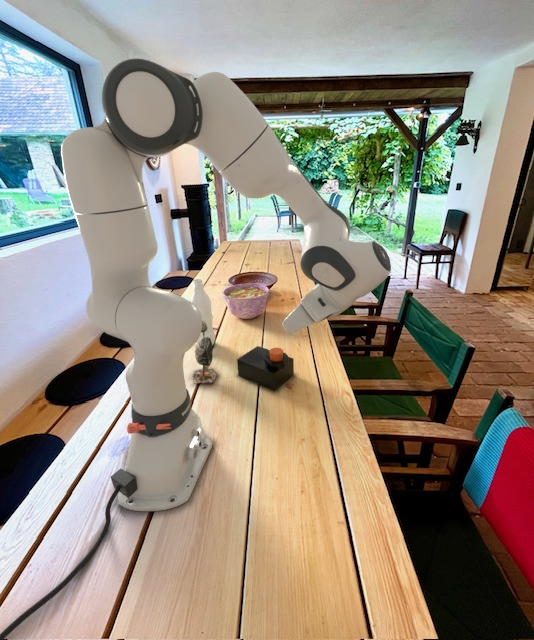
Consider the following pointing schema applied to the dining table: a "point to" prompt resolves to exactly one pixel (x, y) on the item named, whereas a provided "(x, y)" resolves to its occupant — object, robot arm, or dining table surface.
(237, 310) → the bowl of food
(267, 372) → the black button box
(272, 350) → the round orange button
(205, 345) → the plant with pod
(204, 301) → the water bottle
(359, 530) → the dining table surface
